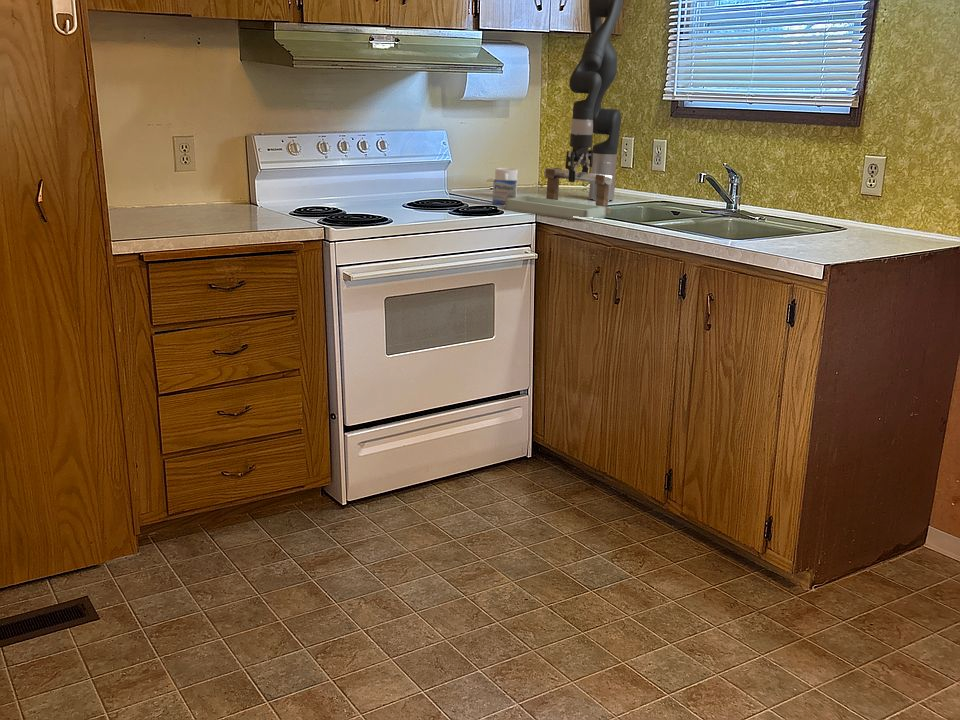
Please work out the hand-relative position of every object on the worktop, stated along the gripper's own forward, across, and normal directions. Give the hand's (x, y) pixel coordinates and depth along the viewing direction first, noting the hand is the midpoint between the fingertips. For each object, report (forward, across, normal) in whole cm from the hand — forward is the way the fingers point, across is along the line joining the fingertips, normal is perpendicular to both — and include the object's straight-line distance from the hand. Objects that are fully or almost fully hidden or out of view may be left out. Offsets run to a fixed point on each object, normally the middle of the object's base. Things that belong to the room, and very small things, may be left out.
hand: (577, 181), depth 320 cm
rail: (0, 0, 0) cm, 0 cm away
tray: (+10, +14, 0) cm, 17 cm away
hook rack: (+10, 0, 0) cm, 10 cm away
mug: (+10, -4, -33) cm, 35 cm away
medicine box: (+10, +11, -23) cm, 27 cm away
